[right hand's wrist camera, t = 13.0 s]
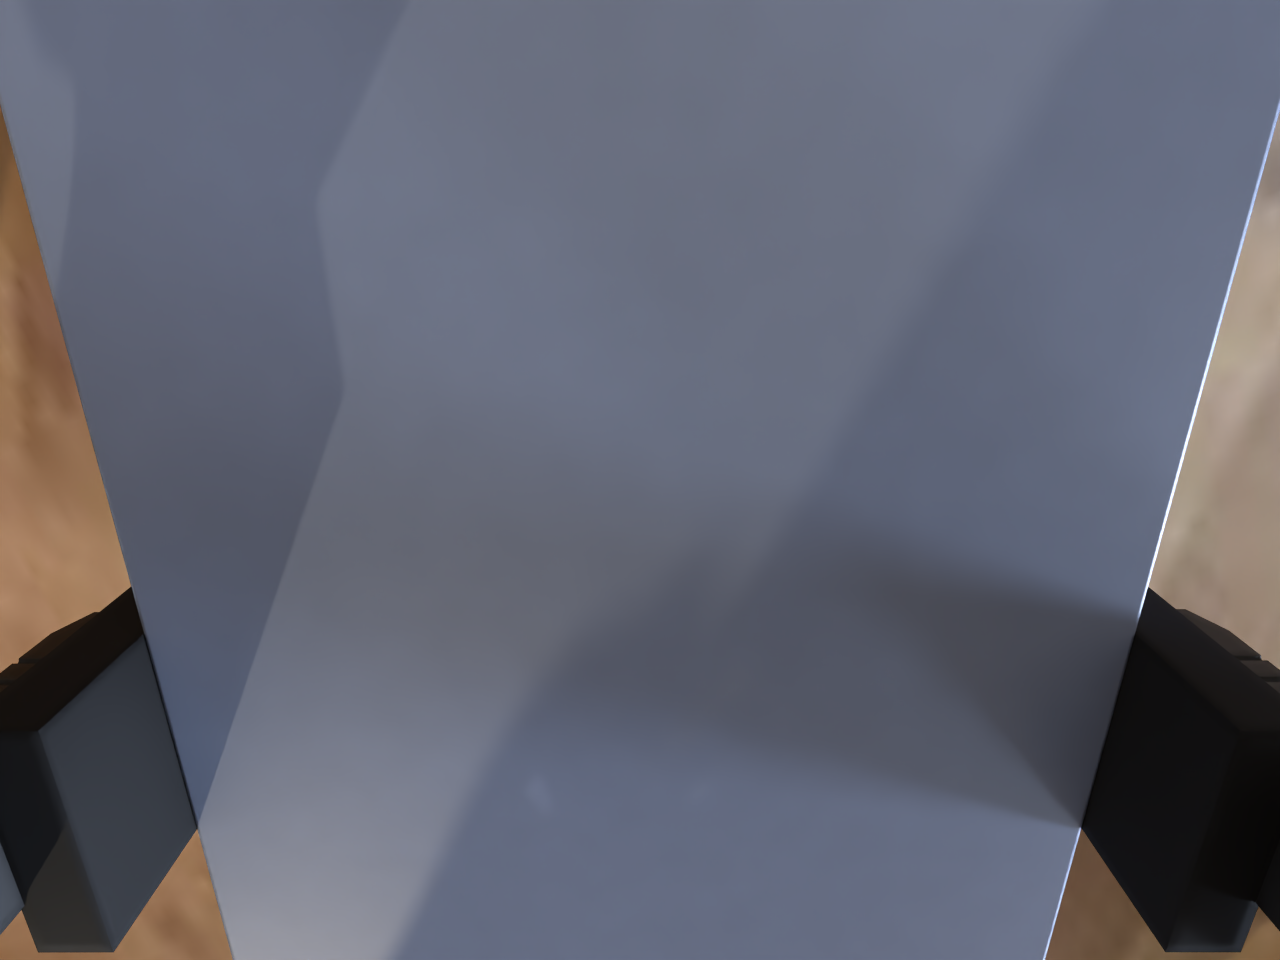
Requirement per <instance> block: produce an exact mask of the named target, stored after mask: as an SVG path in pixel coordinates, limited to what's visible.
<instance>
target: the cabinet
mask: <svg viewBox="0 0 1280 960" xmlns="http://www.w3.org/2000/svg"><path fill="white" fill-rule="evenodd" d="M0 106H1V109H2V113H3V117H4V120H5V124H6V128H7V131H8V135H9V139H10V142H11V146H12V150H13V153H14V157H15V161H16V164H17V168H18V172H19V175H20V179H21V183H22V186H23V190H24V194H25V197H26V201H27V205H28V208H29V212H30V216H31V219H32V223H33V227H34V230H35V234H36V238H37V241H38V245H39V249H40V252H41V256H42V260H43V263H44V267H45V271H46V274H47V278H48V282H49V286H50V289H51V293H52V297H53V300H54V304H55V308H56V311H57V315H58V319H59V322H60V326H61V330H62V333H63V337H64V341H65V344H66V348H67V352H68V355H69V359H70V363H71V366H72V370H73V374H74V377H75V381H76V385H77V388H78V392H79V396H80V399H81V403H82V407H83V410H84V414H85V418H86V421H87V425H88V429H89V432H90V436H91V440H92V443H93V447H94V451H95V454H96V458H97V462H98V466H99V469H100V473H101V477H102V480H103V484H104V488H105V491H106V495H107V499H108V502H109V506H110V510H111V513H112V517H113V521H114V524H115V528H116V532H117V535H118V539H119V543H120V546H121V550H122V554H123V557H124V561H125V565H126V568H127V572H128V576H129V579H130V583H131V587H132V590H133V594H134V598H135V601H136V605H137V609H138V612H139V616H140V620H141V623H142V627H143V631H144V634H145V638H146V642H147V646H148V649H149V653H150V657H151V660H152V664H153V668H154V671H155V675H156V679H157V682H158V686H159V690H160V693H161V697H162V701H163V704H164V708H165V712H166V715H167V719H168V723H169V726H170V730H171V734H172V737H173V741H174V745H175V748H176V752H177V756H178V759H179V763H180V767H181V770H182V774H183V778H184V781H185V785H186V789H187V792H188V796H189V800H190V803H191V807H192V811H193V814H194V818H195V822H196V826H197V829H198V833H199V837H200V840H201V844H202V848H203V851H204V855H205V859H206V862H207V866H208V870H209V873H210V877H211V881H212V884H213V888H214V892H215V895H216V899H217V903H218V906H219V910H220V914H221V917H222V921H223V925H224V928H225V932H226V936H227V939H228V943H229V947H230V950H231V954H232V958H233V960H1045V957H1046V954H1047V950H1048V947H1049V943H1050V939H1051V936H1052V932H1053V929H1054V925H1055V921H1056V918H1057V914H1058V910H1059V907H1060V903H1061V900H1062V896H1063V892H1064V889H1065V885H1066V881H1067V878H1068V874H1069V871H1070V867H1071V863H1072V860H1073V856H1074V853H1075V849H1076V845H1077V842H1078V838H1079V834H1080V831H1081V827H1082V824H1083V820H1084V816H1085V813H1086V809H1087V806H1088V802H1089V798H1090V795H1091V791H1092V787H1093V784H1094V780H1095V777H1096V773H1097V769H1098V766H1099V762H1100V758H1101V755H1102V751H1103V748H1104V744H1105V740H1106V737H1107V733H1108V730H1109V726H1110V722H1111V719H1112V715H1113V711H1114V708H1115V704H1116V701H1117V697H1118V693H1119V690H1120V686H1121V683H1122V679H1123V675H1124V672H1125V668H1126V664H1127V661H1128V657H1129V654H1130V650H1131V646H1132V643H1133V639H1134V635H1135V632H1136V628H1137V625H1138V621H1139V617H1140V614H1141V610H1142V607H1143V603H1144V599H1145V596H1146V592H1147V588H1148V585H1149V581H1150V578H1151V574H1152V570H1153V567H1154V563H1155V559H1156V556H1157V552H1158V549H1159V545H1160V541H1161V538H1162V534H1163V531H1164V527H1165V523H1166V520H1167V516H1168V512H1169V509H1170V505H1171V502H1172V498H1173V494H1174V491H1175V487H1176V484H1177V480H1178V476H1179V473H1180V469H1181V465H1182V462H1183V458H1184V455H1185V451H1186V447H1187V444H1188V440H1189V436H1190V433H1191V429H1192V426H1193V422H1194V418H1195V415H1196V411H1197V408H1198V404H1199V400H1200V397H1201V393H1202V389H1203V386H1204V382H1205V379H1206V375H1207V371H1208V368H1209V364H1210V361H1211V357H1212V353H1213V350H1214V346H1215V342H1216V339H1217V335H1218V332H1219V328H1220V324H1221V321H1222V317H1223V313H1224V310H1225V306H1226V303H1227V299H1228V295H1229V292H1230V288H1231V285H1232V281H1233V277H1234V274H1235V270H1236V266H1237V263H1238V259H1239V256H1240V252H1241V248H1242V245H1243V241H1244V238H1245V234H1246V230H1247V227H1248V223H1249V219H1250V216H1251V212H1252V209H1253V205H1254V201H1255V198H1256V194H1257V190H1258V187H1259V183H1260V180H1261V176H1262V172H1263V169H1264V165H1265V162H1266V158H1267V154H1268V151H1269V147H1270V143H1271V140H1272V136H1273V133H1274V129H1275V125H1276V122H1277V118H1278V115H1279V111H1280V0H0Z"/></svg>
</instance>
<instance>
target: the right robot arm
mask: <svg viewBox="0 0 1280 960" xmlns="http://www.w3.org/2000/svg"><path fill="white" fill-rule="evenodd" d="M1081 828H1082V830H1083V831H1084V832H1085V834H1086V835H1087V837H1088V838H1089V840H1090V841H1091V843H1092V844H1093V846H1094V847H1095V849H1096V850H1097V852H1098V853H1099V855H1100V856H1101V858H1102V859H1103V861H1104V862H1105V863H1106V865H1107V866H1108V868H1109V869H1110V871H1111V872H1112V874H1113V875H1114V877H1115V878H1116V880H1117V881H1118V883H1119V884H1120V886H1121V887H1122V889H1123V890H1124V892H1125V893H1126V894H1127V896H1128V897H1129V899H1130V900H1131V902H1132V903H1133V905H1134V906H1135V908H1136V909H1137V911H1138V912H1139V914H1140V915H1141V917H1142V918H1143V920H1144V921H1145V923H1146V924H1147V925H1148V927H1149V928H1150V930H1151V931H1152V933H1153V934H1154V936H1155V937H1156V939H1157V940H1158V942H1159V943H1160V945H1161V946H1162V948H1163V949H1164V951H1165V952H1241V950H1242V948H1243V945H1244V942H1245V940H1246V937H1247V935H1248V932H1249V929H1250V927H1251V924H1252V922H1253V919H1254V917H1255V914H1256V911H1257V909H1258V906H1259V907H1260V908H1261V910H1262V911H1263V912H1264V913H1265V914H1266V916H1267V917H1268V918H1269V919H1270V920H1271V921H1272V923H1273V924H1274V925H1275V926H1276V927H1277V929H1278V930H1279V931H1280V670H1279V669H1278V668H1276V667H1275V666H1274V665H1273V664H1271V663H1270V662H1269V661H1262V660H1261V655H1260V654H1258V653H1257V652H1256V651H1254V650H1253V649H1252V648H1251V647H1249V646H1248V645H1247V644H1245V643H1244V642H1243V641H1241V640H1240V639H1239V638H1238V637H1236V636H1235V635H1234V634H1232V633H1231V632H1230V631H1228V630H1226V629H1224V628H1222V627H1220V626H1218V625H1216V624H1214V623H1212V622H1210V621H1208V620H1206V619H1204V618H1202V617H1200V616H1198V615H1196V614H1194V613H1192V612H1190V611H1188V610H1186V609H1175V608H1174V607H1172V606H1171V605H1170V604H1169V603H1167V602H1166V601H1165V600H1164V599H1163V598H1161V597H1160V596H1159V595H1158V594H1156V593H1155V592H1154V591H1153V590H1151V589H1150V588H1149V587H1148V588H1147V592H1146V596H1145V599H1144V603H1143V607H1142V610H1141V614H1140V617H1139V621H1138V625H1137V628H1136V632H1135V635H1134V639H1133V643H1132V646H1131V650H1130V654H1129V657H1128V661H1127V664H1126V668H1125V672H1124V675H1123V679H1122V683H1121V686H1120V690H1119V693H1118V697H1117V701H1116V704H1115V708H1114V711H1113V715H1112V719H1111V722H1110V726H1109V730H1108V733H1107V737H1106V740H1105V744H1104V748H1103V751H1102V755H1101V758H1100V762H1099V766H1098V769H1097V773H1096V777H1095V780H1094V784H1093V787H1092V791H1091V795H1090V798H1089V802H1088V806H1087V809H1086V813H1085V816H1084V820H1083V824H1082V827H1081ZM196 830H197V826H196V822H195V818H194V814H193V811H192V807H191V803H190V800H189V796H188V792H187V789H186V785H185V781H184V778H183V774H182V770H181V767H180V763H179V759H178V756H177V752H176V748H175V745H174V741H173V737H172V734H171V730H170V726H169V723H168V719H167V715H166V712H165V708H164V704H163V701H162V697H161V693H160V690H159V686H158V682H157V679H156V675H155V671H154V668H153V664H152V660H151V657H150V653H149V649H148V646H147V642H146V638H145V634H144V631H143V627H142V623H141V620H140V616H139V612H138V609H137V605H136V601H135V598H134V594H133V590H132V587H130V588H129V589H128V590H126V591H125V592H124V593H123V594H121V595H120V596H119V597H118V598H117V599H115V600H114V601H113V602H112V603H110V604H109V605H108V606H107V607H105V608H104V609H103V610H102V611H100V612H94V613H92V614H90V615H88V616H86V617H84V618H82V619H80V620H78V621H76V622H74V623H72V624H70V625H68V626H65V627H63V628H61V629H59V630H57V631H55V632H53V633H51V634H50V635H49V636H47V637H46V638H45V639H44V640H42V641H41V642H40V643H38V644H37V645H36V646H35V647H33V648H32V649H31V650H29V651H28V652H27V653H26V654H24V655H23V656H22V657H20V658H19V662H18V664H11V665H10V666H9V667H8V668H6V669H5V670H4V671H2V672H1V673H0V934H1V933H2V932H3V931H4V930H5V928H6V927H7V926H8V925H9V924H10V923H11V921H12V920H13V919H14V918H15V917H16V915H17V914H18V913H19V912H20V911H21V909H22V912H23V914H24V917H25V920H26V922H27V925H28V927H29V930H30V932H31V935H32V938H33V940H34V943H35V945H36V948H37V951H38V952H114V951H115V949H116V948H117V946H118V945H119V943H120V942H121V940H122V939H123V938H124V936H125V935H126V933H127V932H128V930H129V929H130V927H131V926H132V924H133V923H134V921H135V920H136V918H137V917H138V915H139V914H140V912H141V911H142V909H143V908H144V907H145V905H146V904H147V902H148V901H149V899H150V898H151V896H152V895H153V893H154V892H155V890H156V889H157V887H158V886H159V884H160V883H161V881H162V880H163V878H164V877H165V876H166V874H167V873H168V871H169V870H170V868H171V867H172V865H173V864H174V862H175V861H176V859H177V858H178V856H179V855H180V853H181V852H182V850H183V849H184V847H185V846H186V845H187V843H188V842H189V840H190V839H191V837H192V836H193V834H194V833H195V831H196Z"/></svg>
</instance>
